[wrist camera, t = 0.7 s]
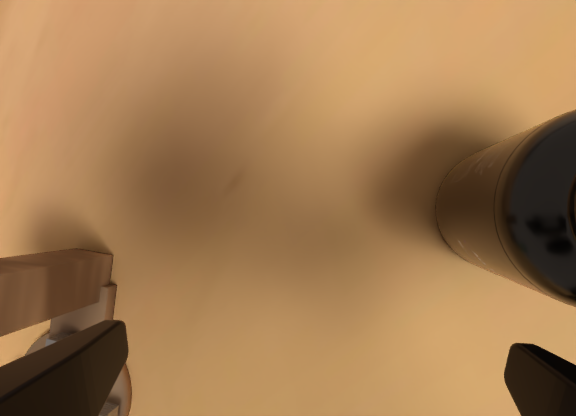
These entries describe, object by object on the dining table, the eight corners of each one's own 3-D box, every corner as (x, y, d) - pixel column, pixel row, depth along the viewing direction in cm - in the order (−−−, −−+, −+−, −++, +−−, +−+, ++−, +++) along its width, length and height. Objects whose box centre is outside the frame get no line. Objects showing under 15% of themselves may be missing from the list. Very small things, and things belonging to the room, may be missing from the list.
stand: (148, 261, 22) (-11, 299, 12) (123, 465, 22) (-55, 660, 13) (44, 242, 24) (-167, 262, 14) (21, 431, 24) (-203, 579, 14)
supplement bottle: (439, 273, 19) (592, 378, 7) (426, 158, 19) (551, 67, 7) (574, 265, 17) (1055, 380, 5) (558, 142, 17) (986, -5, 6)
